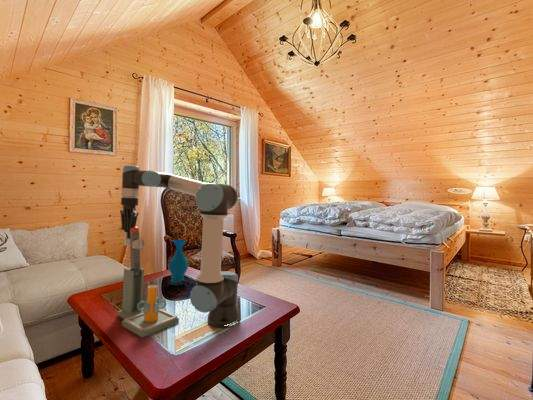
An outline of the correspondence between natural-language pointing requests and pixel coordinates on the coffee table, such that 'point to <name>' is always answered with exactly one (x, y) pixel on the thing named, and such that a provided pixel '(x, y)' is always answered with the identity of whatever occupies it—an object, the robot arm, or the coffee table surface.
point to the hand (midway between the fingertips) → (127, 244)
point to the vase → (178, 263)
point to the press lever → (135, 250)
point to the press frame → (135, 316)
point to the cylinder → (151, 305)
